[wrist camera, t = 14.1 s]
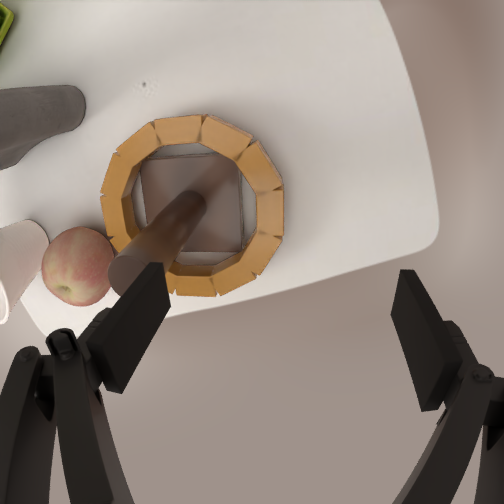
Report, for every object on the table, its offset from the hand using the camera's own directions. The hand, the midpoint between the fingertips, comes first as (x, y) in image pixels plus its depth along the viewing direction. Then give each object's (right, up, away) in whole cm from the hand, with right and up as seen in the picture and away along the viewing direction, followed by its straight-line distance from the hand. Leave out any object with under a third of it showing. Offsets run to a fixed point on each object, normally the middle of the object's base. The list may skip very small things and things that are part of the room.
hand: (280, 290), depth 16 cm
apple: (-19, +2, +17) cm, 26 cm away
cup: (-29, +3, +18) cm, 34 cm away
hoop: (-7, +6, +13) cm, 16 cm away
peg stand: (-7, +7, +14) cm, 17 cm away
